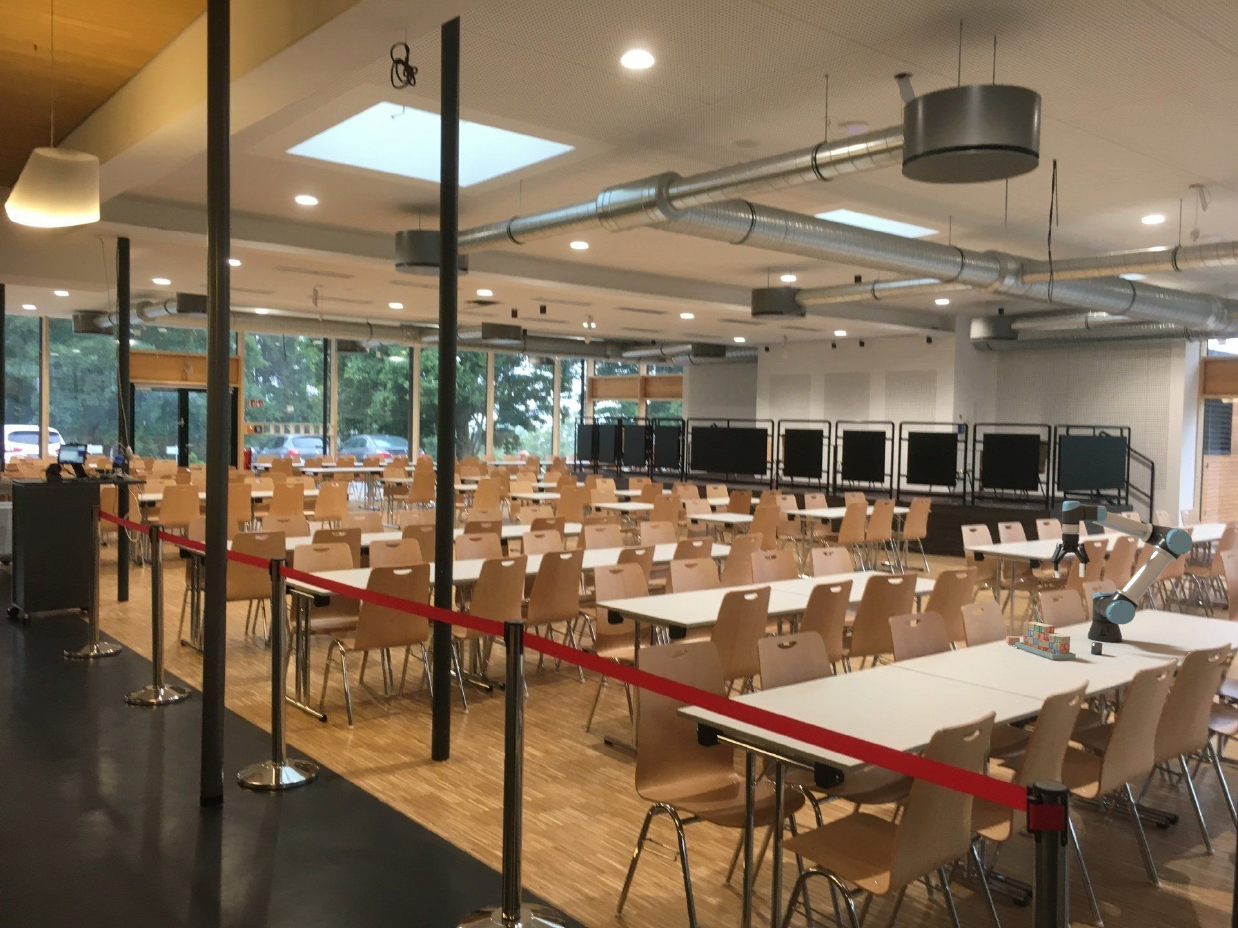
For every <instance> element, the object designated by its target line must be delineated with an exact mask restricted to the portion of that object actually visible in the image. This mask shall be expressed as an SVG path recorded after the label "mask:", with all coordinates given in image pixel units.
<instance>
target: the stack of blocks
mask: <svg viewBox="0 0 1238 928" xmlns="http://www.w3.org/2000/svg"><path fill="white" fill-rule="evenodd" d="M1022 631H1023V637H1022V638H1023V639H1022V640H1023V641H1022V642H1023V645H1026V646H1029V647H1032V648H1036V649H1039V650H1042V651H1045V652H1048V653H1051V654H1069V652H1071V651H1070V650H1071V649H1070V648H1071V647H1070V646H1071V644H1070V643H1071V636H1070V635H1067V634H1061V633H1057V632H1055V625H1052V624H1048V623H1047V624H1046V623H1041V622H1039V621H1023V630H1022Z"/></svg>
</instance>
